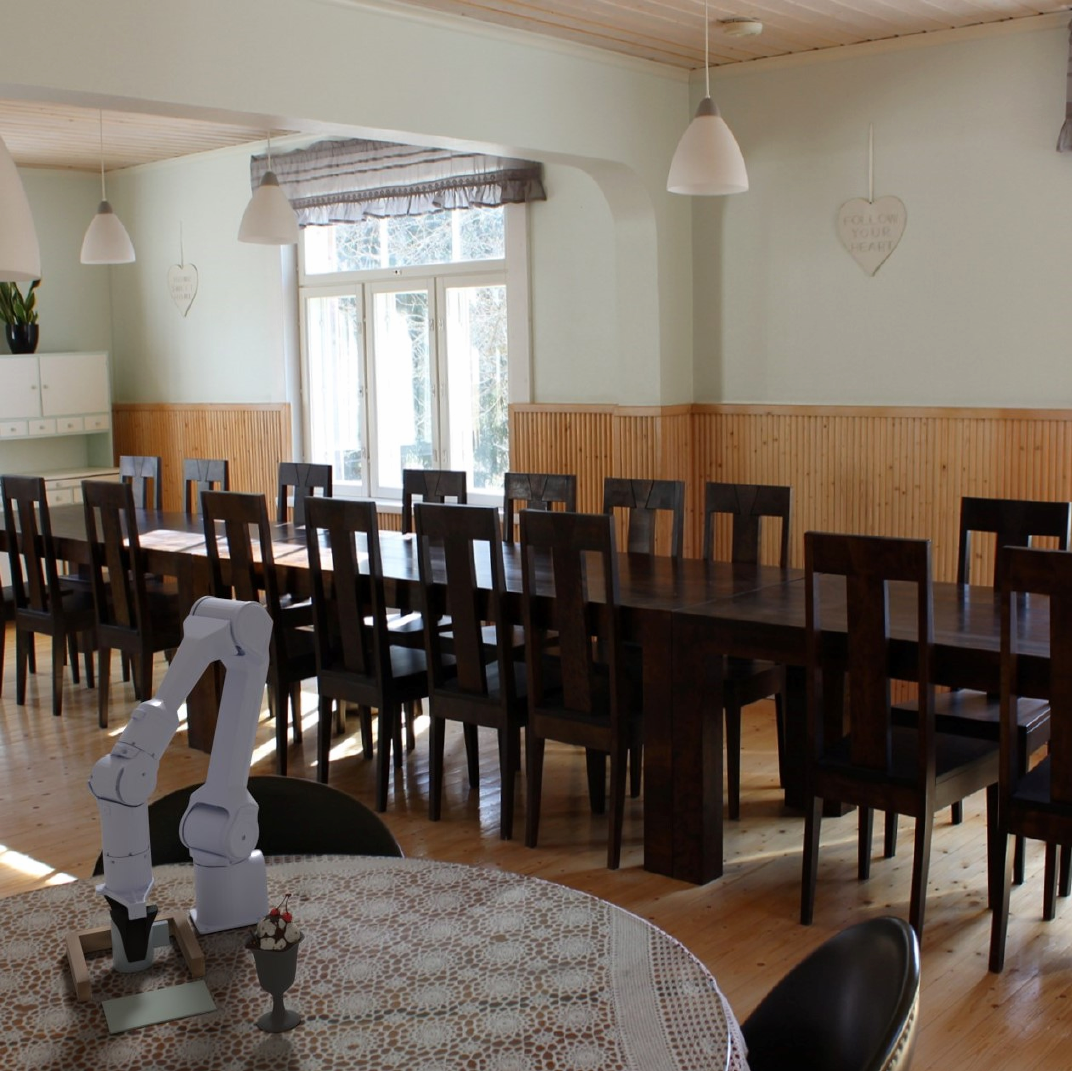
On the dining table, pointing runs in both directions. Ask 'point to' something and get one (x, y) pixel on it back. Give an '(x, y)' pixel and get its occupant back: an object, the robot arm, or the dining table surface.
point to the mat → (157, 1006)
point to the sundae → (276, 964)
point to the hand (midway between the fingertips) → (133, 951)
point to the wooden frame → (103, 940)
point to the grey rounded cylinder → (156, 939)
